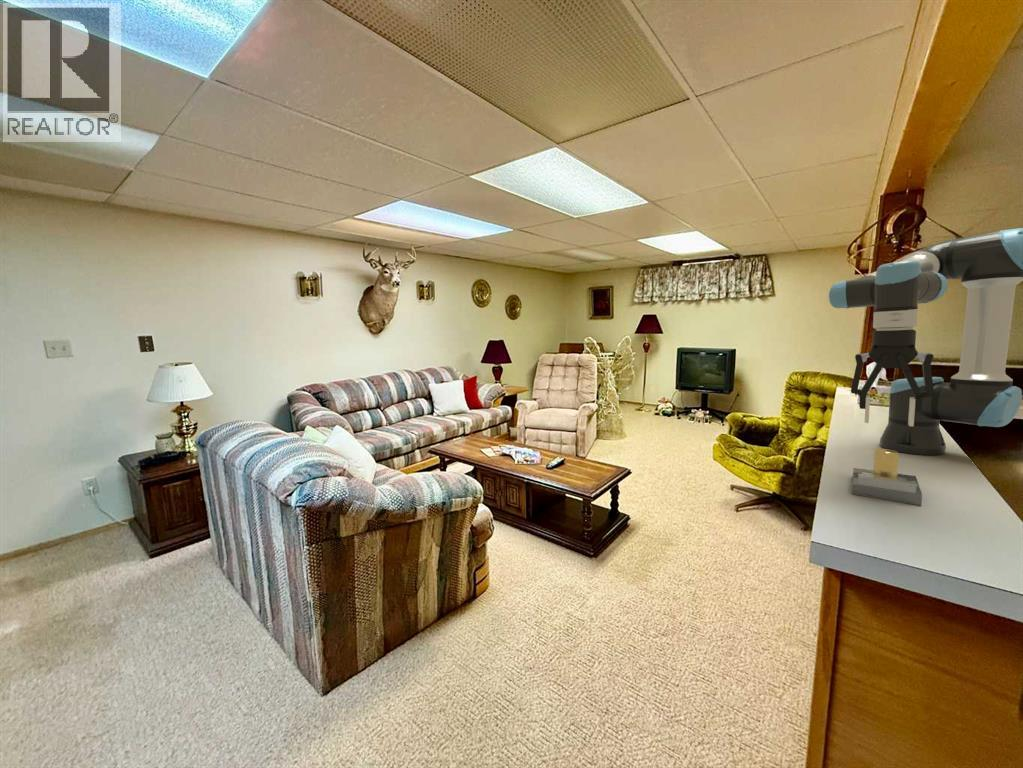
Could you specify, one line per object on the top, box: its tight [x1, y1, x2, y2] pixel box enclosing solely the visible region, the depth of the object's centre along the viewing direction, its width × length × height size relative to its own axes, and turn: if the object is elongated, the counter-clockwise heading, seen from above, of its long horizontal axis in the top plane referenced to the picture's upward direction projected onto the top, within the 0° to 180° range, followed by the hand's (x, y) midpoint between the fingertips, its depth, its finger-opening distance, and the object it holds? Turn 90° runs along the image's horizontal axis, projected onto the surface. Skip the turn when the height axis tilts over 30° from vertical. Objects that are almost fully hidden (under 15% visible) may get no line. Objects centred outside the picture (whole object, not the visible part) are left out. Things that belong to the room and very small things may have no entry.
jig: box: [851, 467, 923, 506], centre depth 100 cm, size 14×12×5 cm
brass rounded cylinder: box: [872, 448, 900, 479], centre depth 99 cm, size 4×4×10 cm
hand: (888, 423), depth 98 cm, fingers open, 7 cm apart
